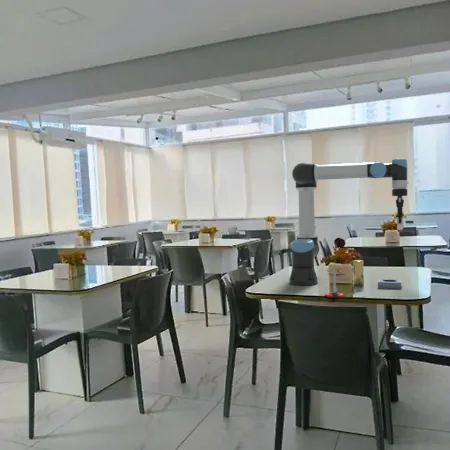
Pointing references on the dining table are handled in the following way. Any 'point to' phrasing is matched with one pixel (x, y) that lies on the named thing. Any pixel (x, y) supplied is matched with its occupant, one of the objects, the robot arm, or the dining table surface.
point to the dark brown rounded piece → (339, 242)
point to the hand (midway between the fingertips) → (400, 229)
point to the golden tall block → (358, 273)
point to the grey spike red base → (334, 289)
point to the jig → (389, 283)
